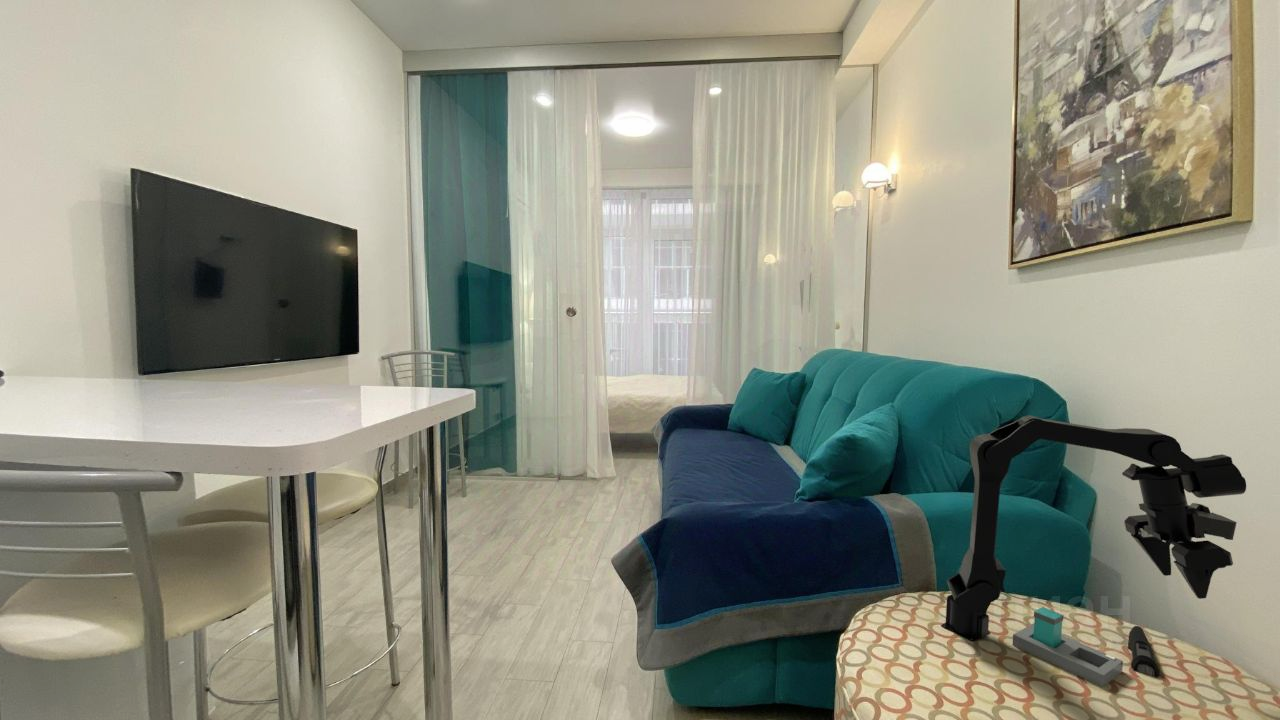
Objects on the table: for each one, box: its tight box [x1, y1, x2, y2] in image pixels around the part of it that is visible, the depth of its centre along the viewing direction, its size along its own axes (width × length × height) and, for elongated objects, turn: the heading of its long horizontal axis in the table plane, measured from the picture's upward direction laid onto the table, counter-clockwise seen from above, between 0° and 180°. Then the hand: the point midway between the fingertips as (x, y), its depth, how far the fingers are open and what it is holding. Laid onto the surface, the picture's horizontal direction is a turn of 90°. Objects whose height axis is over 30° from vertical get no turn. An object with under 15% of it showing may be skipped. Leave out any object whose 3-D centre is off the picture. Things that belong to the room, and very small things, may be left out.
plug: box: [1033, 606, 1064, 648], centre depth 103 cm, size 3×3×7 cm
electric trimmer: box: [1127, 625, 1160, 679], centre depth 102 cm, size 4×16×3 cm, turn 142°
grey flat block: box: [1011, 623, 1124, 687], centre depth 101 cm, size 14×8×3 cm, turn 31°
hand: (1183, 586), depth 98 cm, fingers open, 9 cm apart
